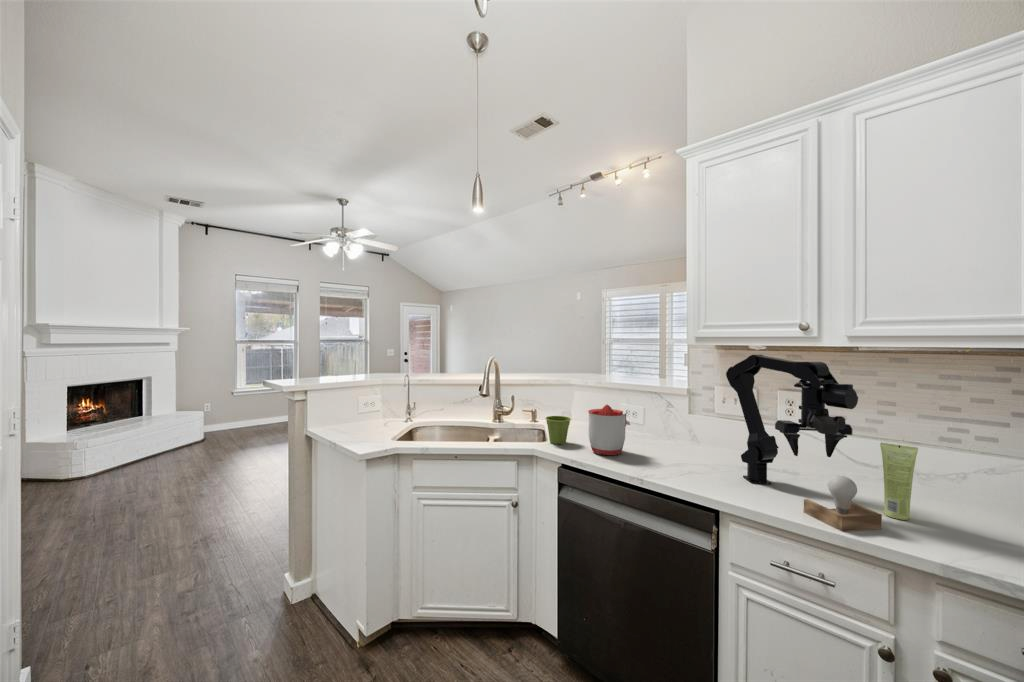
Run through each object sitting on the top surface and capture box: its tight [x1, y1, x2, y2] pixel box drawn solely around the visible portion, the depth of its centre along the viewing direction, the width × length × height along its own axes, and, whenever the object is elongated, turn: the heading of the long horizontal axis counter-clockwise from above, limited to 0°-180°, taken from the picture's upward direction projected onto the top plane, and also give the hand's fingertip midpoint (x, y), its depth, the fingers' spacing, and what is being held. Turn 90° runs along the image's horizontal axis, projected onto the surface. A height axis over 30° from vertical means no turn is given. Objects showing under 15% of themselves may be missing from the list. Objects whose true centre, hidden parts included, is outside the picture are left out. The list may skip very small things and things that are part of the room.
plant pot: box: [544, 415, 572, 445], centre depth 190 cm, size 12×12×11 cm
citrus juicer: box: [587, 404, 631, 456], centre depth 175 cm, size 16×17×20 cm
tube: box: [879, 442, 919, 521], centre depth 113 cm, size 6×5×20 cm
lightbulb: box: [827, 474, 858, 515], centre depth 110 cm, size 6×6×11 cm
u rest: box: [803, 498, 883, 532], centre depth 110 cm, size 11×11×4 cm
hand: (812, 456), depth 124 cm, fingers open, 9 cm apart
